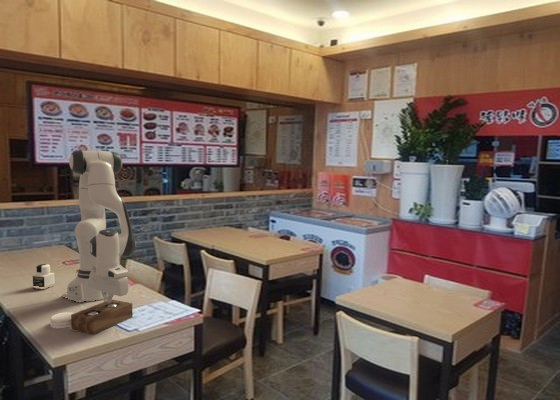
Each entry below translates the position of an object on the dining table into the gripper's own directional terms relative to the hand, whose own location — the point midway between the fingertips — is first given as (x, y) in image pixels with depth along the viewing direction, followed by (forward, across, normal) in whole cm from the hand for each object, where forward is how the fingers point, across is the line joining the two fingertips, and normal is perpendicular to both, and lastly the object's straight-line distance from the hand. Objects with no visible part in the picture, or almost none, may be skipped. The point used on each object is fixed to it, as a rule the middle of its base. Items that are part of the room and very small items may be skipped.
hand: (107, 302), depth 171 cm
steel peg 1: (+7, +2, -8) cm, 11 cm away
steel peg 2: (+7, +1, +2) cm, 7 cm away
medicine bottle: (+9, -65, +13) cm, 67 cm away
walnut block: (+8, +2, -3) cm, 8 cm away
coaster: (+8, -11, -12) cm, 18 cm away
